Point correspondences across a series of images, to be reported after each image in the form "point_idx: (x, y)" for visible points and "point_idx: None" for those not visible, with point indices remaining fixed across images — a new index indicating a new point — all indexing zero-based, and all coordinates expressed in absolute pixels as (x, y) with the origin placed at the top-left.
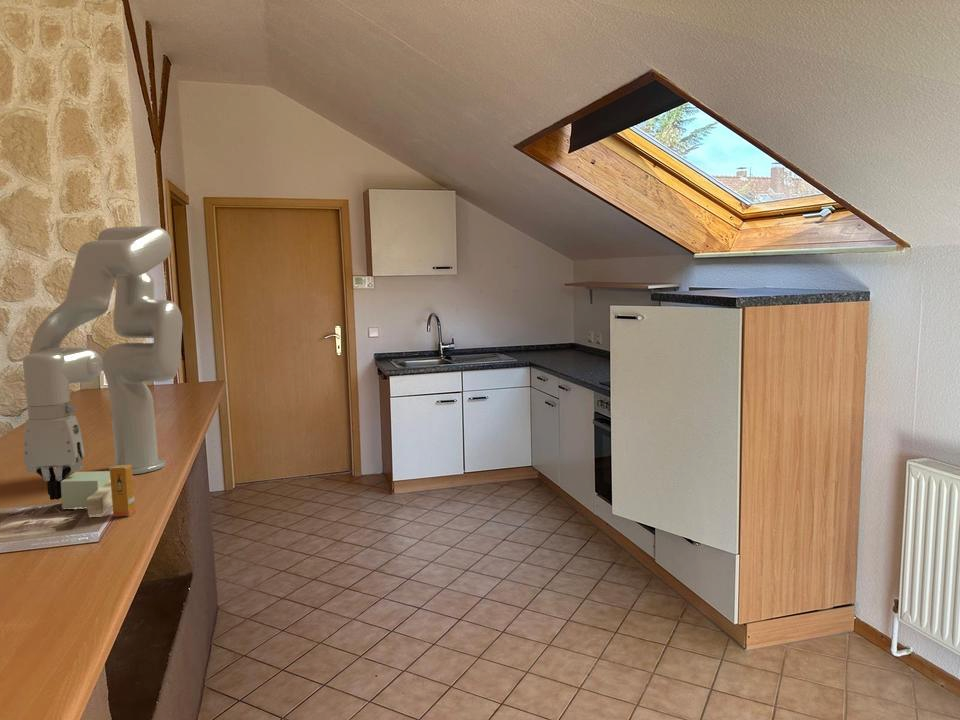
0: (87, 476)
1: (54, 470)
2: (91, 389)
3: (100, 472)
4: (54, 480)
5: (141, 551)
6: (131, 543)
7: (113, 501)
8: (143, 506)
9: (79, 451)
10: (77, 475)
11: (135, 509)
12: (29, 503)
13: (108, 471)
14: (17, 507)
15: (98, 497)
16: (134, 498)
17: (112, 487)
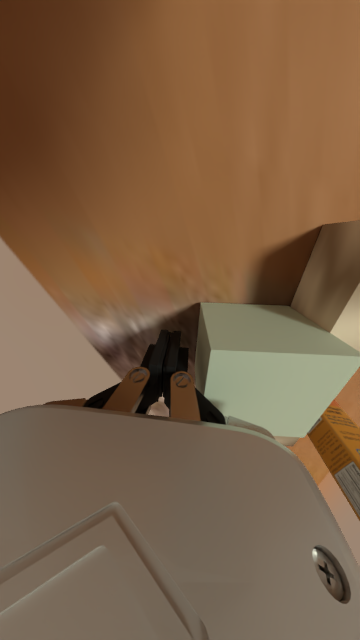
0: (269, 403)
1: (141, 397)
2: None
3: (319, 368)
4: (160, 388)
5: (319, 483)
6: (311, 471)
7: (313, 442)
8: (354, 378)
9: (298, 522)
10: (232, 391)
11: (336, 402)
12: (92, 296)
13: (356, 360)
14: (85, 318)
15: (289, 444)
16: (357, 427)
17: (338, 483)
